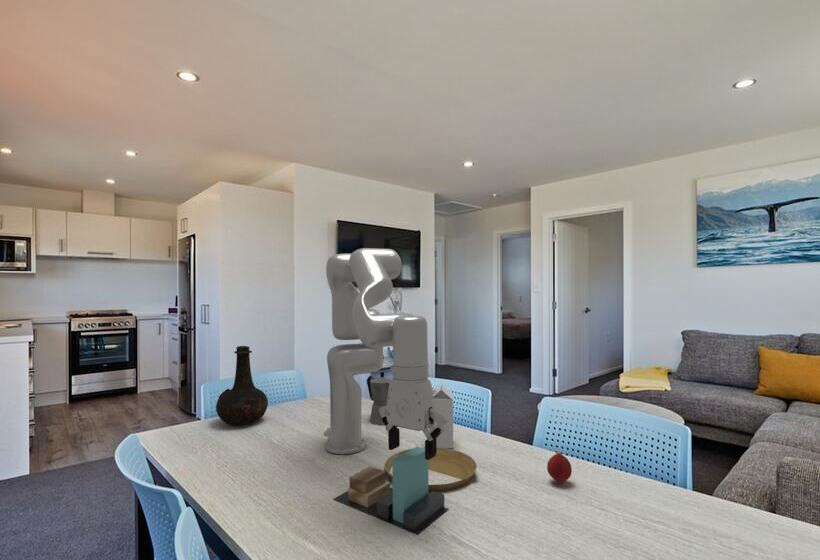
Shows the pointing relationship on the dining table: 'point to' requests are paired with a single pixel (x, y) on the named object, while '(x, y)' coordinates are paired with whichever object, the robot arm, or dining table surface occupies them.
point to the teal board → (409, 480)
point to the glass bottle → (242, 395)
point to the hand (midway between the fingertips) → (411, 452)
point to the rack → (413, 517)
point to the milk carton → (444, 415)
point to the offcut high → (367, 479)
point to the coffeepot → (378, 396)
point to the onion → (559, 467)
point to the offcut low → (369, 495)
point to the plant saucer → (445, 467)
